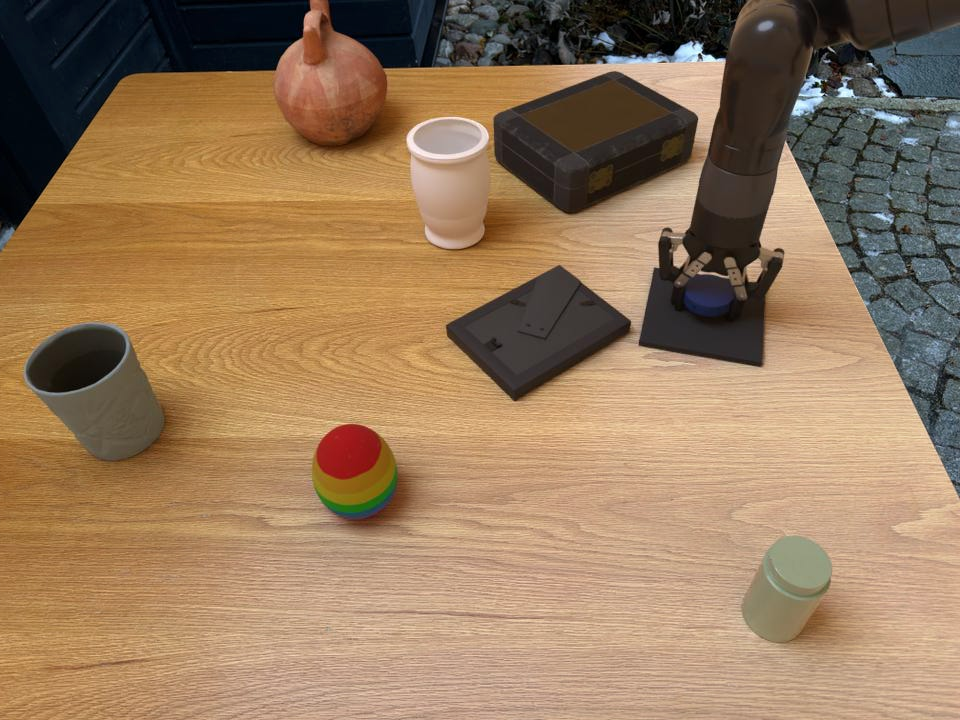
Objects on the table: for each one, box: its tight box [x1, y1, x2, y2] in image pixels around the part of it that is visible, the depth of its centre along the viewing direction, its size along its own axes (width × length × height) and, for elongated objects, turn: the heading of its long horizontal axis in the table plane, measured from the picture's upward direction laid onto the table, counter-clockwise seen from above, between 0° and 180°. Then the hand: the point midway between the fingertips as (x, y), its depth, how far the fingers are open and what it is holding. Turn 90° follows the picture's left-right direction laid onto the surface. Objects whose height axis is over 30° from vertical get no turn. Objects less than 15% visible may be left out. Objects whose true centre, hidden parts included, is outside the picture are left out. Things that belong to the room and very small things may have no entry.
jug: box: [272, 0, 388, 147], centre depth 119 cm, size 18×18×20 cm
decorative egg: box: [311, 423, 399, 520], centre depth 72 cm, size 8×8×10 cm
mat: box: [638, 267, 767, 368], centre depth 91 cm, size 14×14×1 cm
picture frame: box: [445, 264, 632, 402], centre depth 90 cm, size 13×2×18 cm
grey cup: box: [23, 321, 165, 462], centre depth 78 cm, size 10×10×12 cm
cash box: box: [493, 70, 699, 213], centre depth 114 cm, size 25×20×8 cm
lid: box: [683, 273, 735, 317], centre depth 89 cm, size 6×6×2 cm
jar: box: [406, 116, 492, 250], centre depth 100 cm, size 11×10×15 cm
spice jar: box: [741, 535, 833, 643], centre depth 62 cm, size 5×5×9 cm
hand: (704, 311), depth 91 cm, fingers closed on lid, 5 cm apart
